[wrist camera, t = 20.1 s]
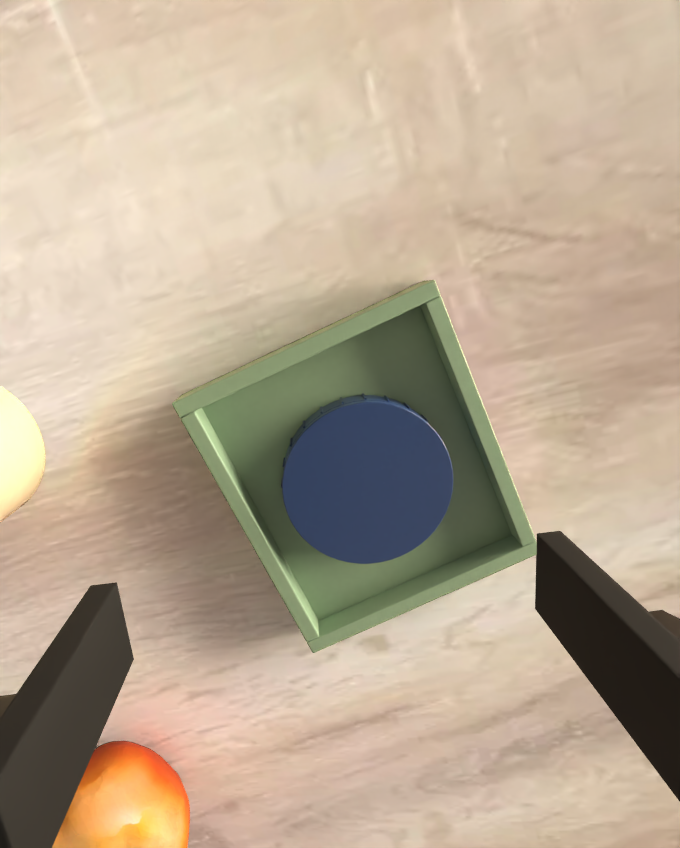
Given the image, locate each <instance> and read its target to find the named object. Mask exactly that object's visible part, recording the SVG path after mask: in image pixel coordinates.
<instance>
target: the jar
mask: <svg viewBox="0 0 680 848" xmlns="http://www.w3.org/2000/svg"><path fill="white" fill-rule="evenodd" d="M44 466H45V449H44V443H43V439H42V436H41V433H40V431H39V428H38V426H37V424H36V422H35V420H34V419H33V417H32V415H31V414H30V413H29V411H28V410H27V409H26V407H25V406H24V405H23V404H22V403H21V402H20V401H19V400H18V399H17V398H16V397H15V396H13V395H12V394H11V393H10V392H9V391H7V390H6V389H4V388H3V387H1V386H0V523H1V522H2V521H3V520H4V519H6V518H7V517H8V516H10V515H11V514H12V513H14V512H15V511H16V510H18V509H19V508H20V507H21V506H23V505H24V504H25V503H26V502H27V501H28V500H29V499H30V498H31V497H32V495H33V494H34V493H35V491H36V490H37V488H38V486H39V484H40V482H41V479H42V476H43V472H44Z"/></svg>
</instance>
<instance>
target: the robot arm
mask: <svg viewBox="0 0 680 848" xmlns="http://www.w3.org/2000/svg"><path fill="white" fill-rule="evenodd" d="M535 609H536V610H537V612H538V613H539V614H540V616H541V617H542V618H543V620H544V621H545V622H546V624H547V625H548V626H549V628H550V629H551V630H552V632H553V633H554V634H555V636H556V637H557V638H558V640H559V641H560V642H561V644H562V645H563V646H564V648H565V649H566V650H567V652H568V653H569V654H570V656H571V657H572V658H573V660H574V661H575V662H576V664H577V665H578V666H579V668H580V669H581V670H582V672H583V673H584V674H585V676H586V677H587V678H588V680H589V681H590V682H591V684H592V685H593V686H594V688H595V689H596V690H597V692H598V693H599V694H600V696H601V697H602V698H603V700H604V701H605V702H606V704H607V705H608V706H609V708H610V709H611V710H612V712H613V713H614V714H615V716H616V717H617V718H618V720H619V721H620V722H621V724H622V725H623V726H624V728H625V729H626V730H627V732H628V733H629V734H630V736H631V737H632V738H633V740H634V741H635V742H636V744H637V745H638V746H639V748H640V749H641V750H642V752H643V753H644V754H645V756H646V757H647V758H648V760H649V761H650V762H651V764H652V765H653V766H654V768H655V769H656V770H657V772H658V773H659V774H660V776H661V777H662V778H663V780H664V781H665V782H666V784H667V785H668V786H669V788H670V789H671V790H672V792H673V793H674V794H675V796H676V797H677V798H678V800H679V801H680V619H679V618H677V617H675V616H673V615H671V614H669V613H667V612H665V611H663V610H659V611H651V612H648V611H647V610H646V609H645V608H644V607H643V606H642V605H641V604H639V603H638V602H637V601H636V600H635V599H634V598H633V597H632V596H631V595H630V594H628V593H627V592H626V591H625V590H624V589H623V588H622V587H621V586H620V585H619V584H618V583H616V582H615V581H614V580H613V579H612V578H611V577H610V576H609V575H608V574H607V573H606V572H604V571H603V570H602V569H601V568H600V567H599V566H598V565H597V564H596V563H595V562H594V561H592V560H591V559H590V558H589V557H588V556H587V555H586V554H585V553H584V552H583V551H582V550H580V549H579V548H578V547H577V546H576V545H575V544H574V543H573V542H572V541H571V540H570V539H568V538H567V537H566V536H565V535H564V534H563V533H562V532H561V531H556V532H547V533H539V534H537V555H536V599H535ZM133 660H134V658H133V654H132V649H131V645H130V640H129V636H128V631H127V627H126V622H125V618H124V613H123V609H122V604H121V600H120V595H119V591H118V586H117V583H109V584H100V585H92V586H90V588H89V589H88V591H87V592H86V593H85V595H84V596H83V598H82V599H81V601H80V602H79V604H78V605H77V607H76V608H75V609H74V611H73V612H72V614H71V615H70V617H69V618H68V620H67V621H66V623H65V624H64V626H63V627H62V628H61V630H60V631H59V633H58V634H57V636H56V637H55V639H54V640H53V642H52V643H51V645H50V646H49V647H48V649H47V650H46V652H45V653H44V655H43V656H42V658H41V659H40V661H39V662H38V664H37V665H36V666H35V668H34V669H33V671H32V672H31V674H30V675H29V677H28V678H27V680H26V681H25V682H24V684H23V685H22V687H21V688H20V690H19V691H18V693H17V694H13V695H5V696H0V848H52V846H53V844H54V842H55V839H56V837H57V835H58V832H59V830H60V828H61V826H62V823H63V821H64V819H65V816H66V814H67V812H68V809H69V807H70V805H71V802H72V800H73V798H74V796H75V793H76V791H77V789H78V786H79V784H80V782H81V779H82V777H83V775H84V773H85V770H86V768H87V766H88V763H89V761H90V759H91V756H92V754H93V752H94V749H95V747H96V745H97V743H98V740H99V738H100V736H101V733H102V731H103V729H104V726H105V724H106V722H107V720H108V717H109V715H110V713H111V710H112V708H113V706H114V703H115V701H116V699H117V696H118V694H119V692H120V690H121V687H122V685H123V683H124V680H125V678H126V676H127V673H128V671H129V669H130V667H131V664H132V662H133Z"/></svg>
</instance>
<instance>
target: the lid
mask: <svg viewBox="0 0 680 848" xmlns="http://www.w3.org/2000/svg"><path fill="white" fill-rule="evenodd" d="M441 438H442V437H441V436H440V435H439V434H438V433H437V432H436V431H435V430H434V429H433V428H432V427H431V426H430V424H429V423H428V420H427V419H426V418H425V417H424V416H423V415H420V414H418V413H417V412H416V411H415V410H414V409H412V408H410V407H409V406H408V405H407V404H406V403H405V402H404V404H403V403H401V402H399V401H397V400H394V399H391V398H387V396H386V395H384V397H383V396H376V395H364V393H362V395H357V396H350V397H346V398H342V397H340V399H339V400H337V401H334V402H331V403H329V404H328V405H326V406H324V407H322V406H321V407H320V409H319V410H318V411H316V412H315V413H313V414H312V415H311V416H310V417H309V418H308V419H307V420H306V421H305V420H304V421H303V424H302V425H301V427H300V428H299V429H298V430H297V432H296V434H295V435H294V437H293V438H291V439H290V445H289V447H288V450H287V453H286V457H285V458H283V466H282V467H284V469H283V478H282V482H281V488H282V493H283V501H284V505H285V508H286V512H287V514H288V516H289V519H290V521H291V523H292V524H293V526H294V527H295V529H296V531H297V532H298V533H299V534H300V535H301V537H302V538H303V539H304V540H305V541H306V542H307V543H309V544H310V545H311V546H312V547H314V548H315V549H316V550H318V551H319V552H321V553H323V554H325V555H327V556H329V557H332V558H334V559H337V560H340V561H344V562H349V563H357V564H372V563H380V562H384V561H388V560H392V559H395V558H397V557H400V556H402V555H404V554H406V553H408V552H410V551H412V550H413V549H415V548H416V547H418V546H419V545H421V544H422V543H423V542H424V541H425V540H426V539H428V538H429V536H430V535H431V534H432V533H433V532H434V531H435V530H436V528H437V527H438V525H439V524H440V523H441V521H442V519H443V517H444V515H445V514H446V512H447V509H448V506H449V504H450V500H451V496H452V491H453V469H452V463H451V459H450V456H449V453H448V450H447V448H446V446H445V444H444V442H443V441H442V439H441Z"/></svg>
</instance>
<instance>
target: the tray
mask: <svg viewBox="0 0 680 848" xmlns="http://www.w3.org/2000/svg"><path fill="white" fill-rule="evenodd" d="M362 393H364V395H376V396H383V397H384V395H386V396H387V398H391V399H394V400H397V401H399V402H401V403H403V404H404V402H405V403H406V404H407V405H408V406H409V407H410V408H412V409H414V410H415V411H416V412H417V413H418V414H420V415H423V416H424V417H425V418H426V419H427V420H428V423H429V424H430V426H431V427H432V428H433V429H434V430H435V431H436V432H437V433H438V434H439V435H440V436H441V437H442V438H441V439H442V441H443V442H444V444H445V446H446V448H447V450H448V453H449V456H450V459H451V463H452V469H453V491H452V496H451V500H450V504H449V506H448V509H447V512H446V514H445V515H444V517H443V519H442V521H441V523H440V524H439V525H438V527H437V528H436V530H435V531H434V532H433V533H432V534H431V535H430V536H429V538H428V539H426V540H425V541H424V542H423V543H422V544H421V545H419V546H418V547H416V548H415V549H413V550H412V551H410V552H408V553H406V554H404V555H402V556H400V557H397V558H395V559H392V560H388V561H384V562H380V563H372V564H357V563H349V562H344V561H340V560H337V559H334V558H332V557H329V556H327V555H325V554H323V553H321V552H319V551H318V550H316V549H315V548H314V547H312V546H311V545H310V544H309V543H307V542H306V541H305V540H304V539H303V538H302V537H301V535H300V534H299V533H298V532H297V531H296V529H295V527H294V526H293V524H292V523H291V521H290V519H289V516H288V514H287V512H286V508H285V505H284V501H283V493H282V488H281V482H282V478H283V469H284V467H282V466H283V458H285V457H286V453H287V450H288V447H289V445H290V439H291V438H293V437H294V435H295V434H296V432H297V430H298V429H299V428H300V427H301V425H302V424H303V421H304V420H305V421H306V420H307V419H308V418H309V417H310V416H311V415H312V414H313V413H315V412H316V411H318V410H319V409H320V407H321V406H322V407H324V406H326V405H328V404H329V403H331V402H334V401H337V400H339V399H340V397H342V398H346V397H350V396H357V395H362ZM172 405H173V407H174V409H175V410H176V412H177V414H178V416H179V417H180V418H181V421H182V423H183V424H184V426H185V428H186V430H187V431H188V433H189V435H190V437H191V438H192V440H193V442H194V444H195V446H196V447H197V449H198V451H199V453H200V454H201V456H202V458H203V460H204V461H205V463H206V465H207V467H208V469H209V470H210V472H211V474H212V476H213V477H214V479H215V481H216V483H217V484H218V486H219V488H220V490H221V491H222V493H223V495H224V497H225V499H226V500H227V502H228V504H229V506H230V507H231V509H232V511H233V513H234V514H235V516H236V518H237V520H238V522H239V523H240V525H241V527H242V529H243V530H244V532H245V534H246V536H247V537H248V539H249V541H250V543H251V545H252V546H253V548H254V550H255V552H256V553H257V555H258V557H259V559H260V560H261V562H262V564H263V566H264V568H265V569H266V571H267V573H268V575H269V576H270V578H271V580H272V582H273V583H274V585H275V587H276V589H277V590H278V592H279V594H280V596H281V598H282V599H283V601H284V603H285V605H286V606H287V608H288V610H289V612H290V613H291V615H292V617H293V619H294V621H295V622H296V624H297V626H298V628H299V629H300V631H301V633H302V635H303V636H304V638H305V640H306V641H307V644H308V645H309V647H310V649H311V651H312V652H313V653H315V652H317V651H319V650H322V649H324V648H326V647H328V646H331V645H333V644H335V643H337V642H340V641H342V640H344V639H346V638H349V637H351V636H353V635H355V634H358V633H360V632H362V631H365V630H367V629H369V628H371V627H374V626H376V625H378V624H380V623H383V622H385V621H387V620H389V619H392V618H394V617H396V616H398V615H401V614H403V613H405V612H408V611H410V610H412V609H414V608H417V607H419V606H421V605H423V604H426V603H428V602H430V601H432V600H435V599H437V598H439V597H441V596H444V595H446V594H448V593H451V592H453V591H455V590H457V589H460V588H462V587H464V586H466V585H469V584H471V583H473V582H475V581H478V580H480V579H482V578H485V577H487V576H489V575H491V574H494V573H496V572H498V571H500V570H503V569H505V568H507V567H509V566H512V565H514V564H516V563H518V562H521V561H523V560H525V559H528V558H530V557H532V556H534V555H537V542H536V539H535V537H534V534H533V532H532V529H531V526H530V524H529V521H528V519H527V516H526V514H525V511H524V508H523V506H522V503H521V501H520V498H519V495H518V493H517V490H516V488H515V485H514V483H513V480H512V477H511V475H510V472H509V470H508V467H507V465H506V462H505V459H504V457H503V454H502V452H501V449H500V447H499V444H498V441H497V439H496V436H495V434H494V431H493V429H492V426H491V423H490V421H489V418H488V416H487V413H486V411H485V408H484V405H483V403H482V400H481V398H480V395H479V393H478V390H477V387H476V385H475V382H474V380H473V377H472V375H471V372H470V369H469V367H468V364H467V362H466V359H465V357H464V354H463V351H462V349H461V346H460V344H459V341H458V339H457V336H456V333H455V331H454V328H453V326H452V323H451V321H450V318H449V315H448V313H447V310H446V308H445V305H444V303H443V300H442V297H441V296H440V292H439V290H438V287H437V285H436V282H435V280H429V281H422V282H420V283H418V284H416V285H414V286H412V287H409V288H407V289H405V290H403V291H401V292H399V293H397V294H395V295H392V296H390V297H388V298H386V299H384V300H382V301H380V302H378V303H376V304H373V305H371V306H369V307H367V308H365V309H363V310H361V311H359V312H356V313H354V314H352V315H350V316H348V317H346V318H344V319H342V320H339V321H337V322H335V323H333V324H331V325H329V326H327V327H325V328H322V329H320V330H318V331H316V332H314V333H312V334H310V335H308V336H305V337H303V338H301V339H299V340H297V341H295V342H293V343H291V344H288V345H286V346H284V347H282V348H280V349H278V350H276V351H274V352H271V353H269V354H267V355H265V356H263V357H261V358H259V359H257V360H255V361H252V362H250V363H248V364H246V365H244V366H242V367H240V368H238V369H235V370H233V371H231V372H229V373H227V374H225V375H223V376H221V377H218V378H216V379H214V380H212V381H210V382H208V383H206V384H204V385H201V386H199V387H197V388H195V389H193V390H191V391H189V392H187V393H184V394H182V395H181V396H180V397H179V398H178V399H176V400H175V401H174V402H173V403H172Z"/></svg>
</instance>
